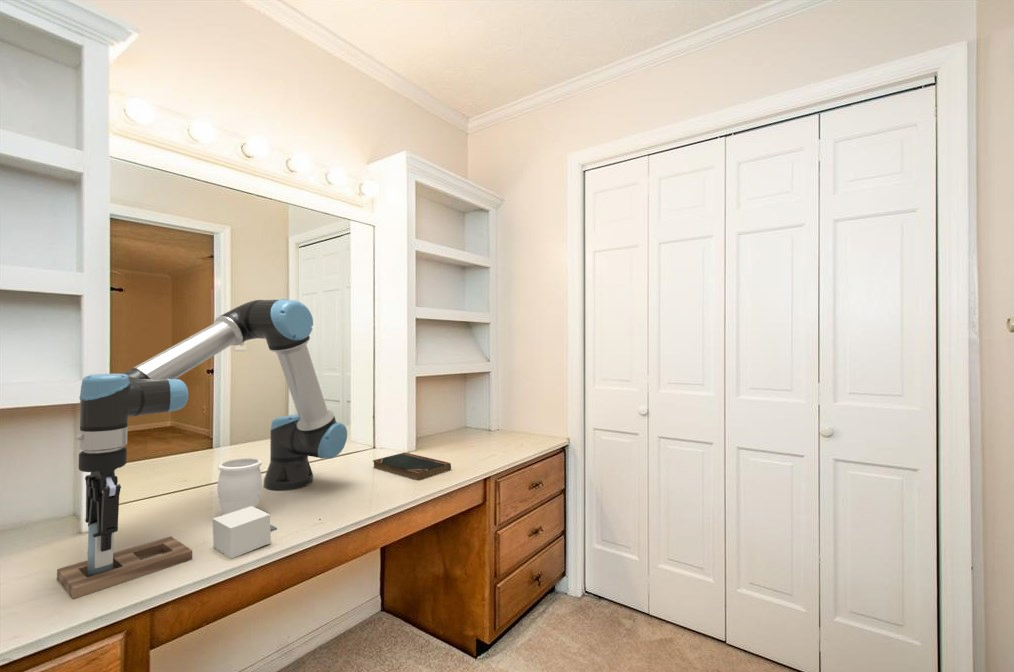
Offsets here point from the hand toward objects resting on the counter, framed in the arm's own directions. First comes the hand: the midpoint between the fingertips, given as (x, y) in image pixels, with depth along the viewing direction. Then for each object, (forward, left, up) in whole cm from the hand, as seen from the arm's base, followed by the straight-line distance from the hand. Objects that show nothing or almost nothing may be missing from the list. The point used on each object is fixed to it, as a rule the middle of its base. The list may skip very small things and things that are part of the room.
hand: (100, 561), depth 96 cm
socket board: (0, +5, -3) cm, 6 cm away
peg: (0, 0, -3) cm, 3 cm away
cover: (+8, +25, -3) cm, 26 cm away
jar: (-11, +33, -3) cm, 35 cm away
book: (-9, +95, -4) cm, 95 cm away
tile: (+2, +32, -3) cm, 32 cm away
